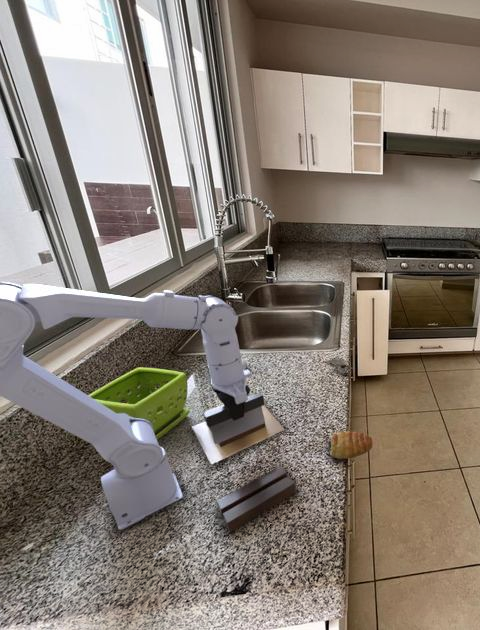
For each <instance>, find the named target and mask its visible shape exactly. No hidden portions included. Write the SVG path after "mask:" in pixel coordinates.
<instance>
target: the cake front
mask: <svg viewBox="0 0 480 630" xmlns="http://www.w3.org/2000/svg"><path fill="white" fill-rule="evenodd" d="M263 416H264V414H263ZM264 422H265V420H264ZM264 427H266V425H265V423H264V424H261V425H259V426H257V427H254V428H252V429H250V430H248V431H245V432H243V433H241V434H238V435H236V436H234V437H232V438H229V439H227V440H225V441H222V442H220V443H219V445H220V447H222V446H224V445H227V444H229V443H231V442H233V441H236V440H238V439H240V438H242V437H244V436H247V435H249V434H251V433H253V432H255V431H258V430H260V429H262V428H264Z"/></svg>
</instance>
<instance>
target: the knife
mask: <svg viewBox="0 0 480 630" xmlns="http://www.w3.org/2000/svg"><path fill="white" fill-rule="evenodd" d="M248 396H249V395H248ZM263 405H264V406H265V405H266V404H265V398H264V394H263V393H262V392H261V391H260V392H257V393H255V394H252V395H250V396H249V397H248V400H247V401H246V404H245V413H244V417H242V418H240V419H237V420H235V421H234V420H233V419H232V418H231V416H230V414H229V412H228V409H227V407H226V406H223V407H220V408H218V409H215V410H212V411H210V412H207V413H204V412H203V416H204V422H206V425H207V426H208V428H209V427H211V431H212V435H213V439H214V443H215V445H216V444H218V443H220V442H222V441H225V440H227V439H229V438H232V437H234V436H236V435H238V434H241V433H243V432H245V431H248V430H250V429H252V428H254V427H257V426H259V425H261V424H264V423H265V422H264V416H263V411H262V406H263Z"/></svg>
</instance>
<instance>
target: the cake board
mask: <svg viewBox="0 0 480 630" xmlns="http://www.w3.org/2000/svg"><path fill="white" fill-rule="evenodd" d="M262 411H263V414H264V420H265V425H266V427H264V428H262V429H260V430H258V431H255V432H253V433H251V434H249V435H247V436H244V437H242V438H240V439H238V440H236V441H233V442H231V443H229V444H227V445H224V446H222V447H220V445H219V443H218V444H216V445H215V443H214V439H213V435H212V432H211V430H210V428H208V426H207V425H206V422H205V421H202V422H200V423H197V424H194V425H191V429H192V431H193V433H194V435H195V437H196V438H197V441H198V442H199V445H200V447H201V449H202V450H203V453H204V454H205V456H206V458H207V460H208V462H209V464H210V465H211V466H212V465H214V464H216V463H218V462H221V461H222V460H226V458H229V457H231V456H233V455H235V454H237V453H239V452H241V451H243V450H246V449H248V448H250V447H252V446H254V445H256V444H257V443H260V442H262V441H264V440H267V439H268V438H271V437H274V436H275V435H277V434H278V433H281V432H284V431H286V428H285V427H284V426H283V425H282V424H281V423H280V422H279V421H278V419H277V418H276V417H275V416H274V415H273V414H272V413H271V412H270V410H269V409H268V408H267V407H266V406H265V405H263V406H262Z"/></svg>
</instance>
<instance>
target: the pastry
mask: <svg viewBox="0 0 480 630" xmlns="http://www.w3.org/2000/svg"><path fill="white" fill-rule="evenodd" d="M330 442H331V443H330V451H329V455H330V456H331V457H332V458H335V459H337V460H342V459H346V460H347V459H352V458H356V457H358V456H362V455H365V454H367V453H369V451H370V450H372V448H373V438H372V437H371V436H370V435H368V434H366V433H364V432H358V431H356V430H355V431H351V430H347V431H344V430H340V431H339V432H337V433H332V434H331V438H330Z"/></svg>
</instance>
